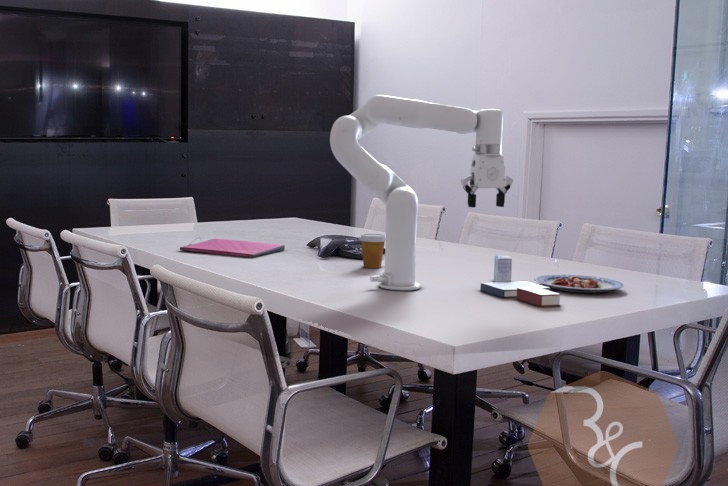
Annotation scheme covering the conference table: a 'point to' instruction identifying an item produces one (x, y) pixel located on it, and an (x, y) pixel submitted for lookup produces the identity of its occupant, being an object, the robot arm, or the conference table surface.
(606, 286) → the ceramic plate
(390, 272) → the robot arm
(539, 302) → the paperback
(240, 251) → the laptop bag
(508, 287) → the hardback
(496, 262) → the medicine box
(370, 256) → the disposable coffee cup
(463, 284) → the conference table surface
